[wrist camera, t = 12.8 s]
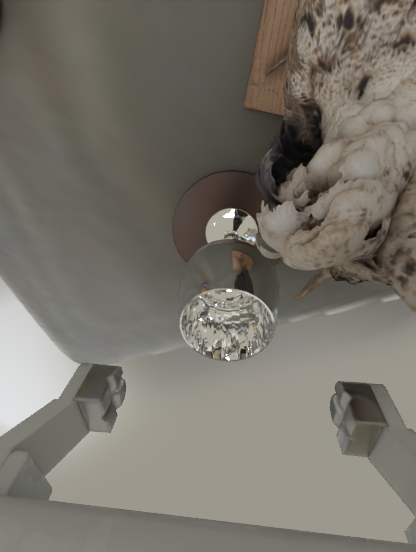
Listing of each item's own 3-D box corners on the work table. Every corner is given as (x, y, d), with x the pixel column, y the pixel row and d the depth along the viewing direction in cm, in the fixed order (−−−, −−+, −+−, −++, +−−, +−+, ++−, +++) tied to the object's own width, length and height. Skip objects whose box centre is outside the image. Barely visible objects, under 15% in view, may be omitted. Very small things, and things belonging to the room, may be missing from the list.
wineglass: (272, 255, 25) (295, 360, 15) (209, 269, 26) (190, 375, 16) (257, 191, 22) (274, 264, 12) (188, 210, 23) (150, 291, 13)
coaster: (298, 170, 22) (299, 171, 21) (282, 282, 27) (283, 284, 26) (168, 170, 22) (167, 171, 22) (177, 278, 28) (176, 281, 27)
